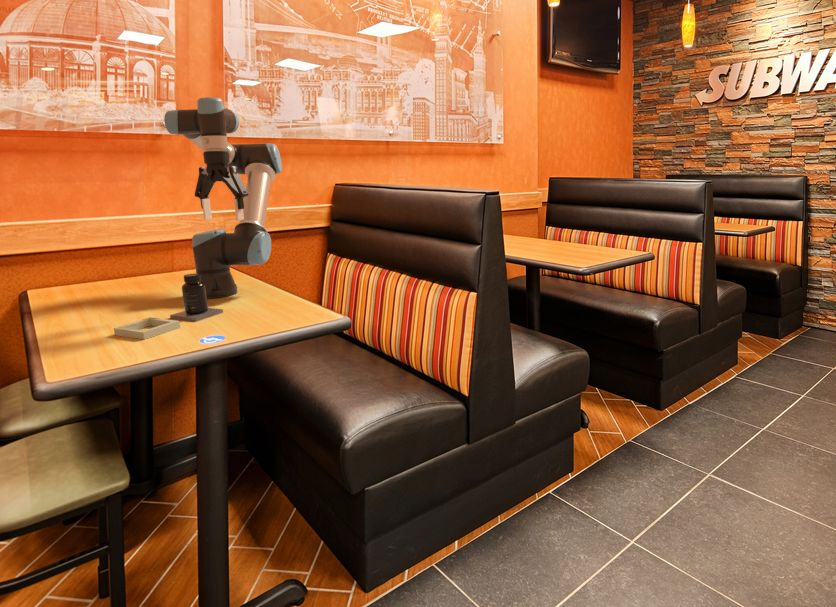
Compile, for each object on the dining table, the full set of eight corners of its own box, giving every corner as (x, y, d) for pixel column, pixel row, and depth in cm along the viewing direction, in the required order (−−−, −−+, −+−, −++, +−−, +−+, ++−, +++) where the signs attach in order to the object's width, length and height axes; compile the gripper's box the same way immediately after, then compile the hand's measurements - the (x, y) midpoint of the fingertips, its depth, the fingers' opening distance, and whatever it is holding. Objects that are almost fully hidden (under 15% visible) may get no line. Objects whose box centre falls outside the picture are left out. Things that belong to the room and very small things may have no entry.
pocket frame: (114, 335, 153) (113, 328, 152) (151, 323, 163) (150, 317, 163) (144, 339, 148) (143, 332, 147) (180, 327, 158) (179, 320, 158)
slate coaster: (170, 318, 168) (169, 315, 168) (197, 309, 178) (197, 306, 178) (196, 321, 164) (195, 318, 164) (223, 312, 174) (222, 309, 173)
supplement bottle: (189, 309, 174) (184, 272, 171) (211, 308, 174) (206, 272, 171) (181, 315, 167) (176, 277, 164) (204, 314, 168) (199, 276, 165)
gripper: (177, 152, 171) (186, 220, 176) (237, 148, 160) (245, 221, 166) (195, 152, 177) (204, 217, 183) (255, 149, 167) (262, 218, 172)
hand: (223, 219), depth 174 cm, fingers open, 13 cm apart
